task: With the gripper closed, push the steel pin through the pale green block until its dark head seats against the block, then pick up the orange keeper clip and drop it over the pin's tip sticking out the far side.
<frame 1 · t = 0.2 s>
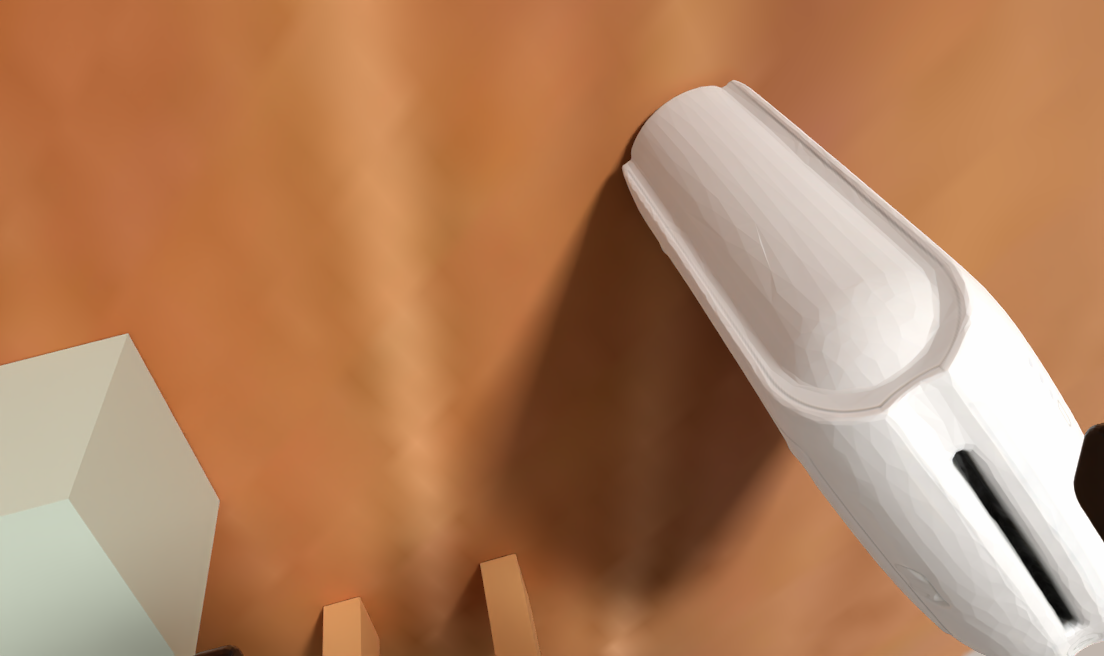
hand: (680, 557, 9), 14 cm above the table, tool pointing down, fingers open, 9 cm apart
photo printer: (754, 235, 25), on the table
keeper clip: (428, 601, 30), on the table
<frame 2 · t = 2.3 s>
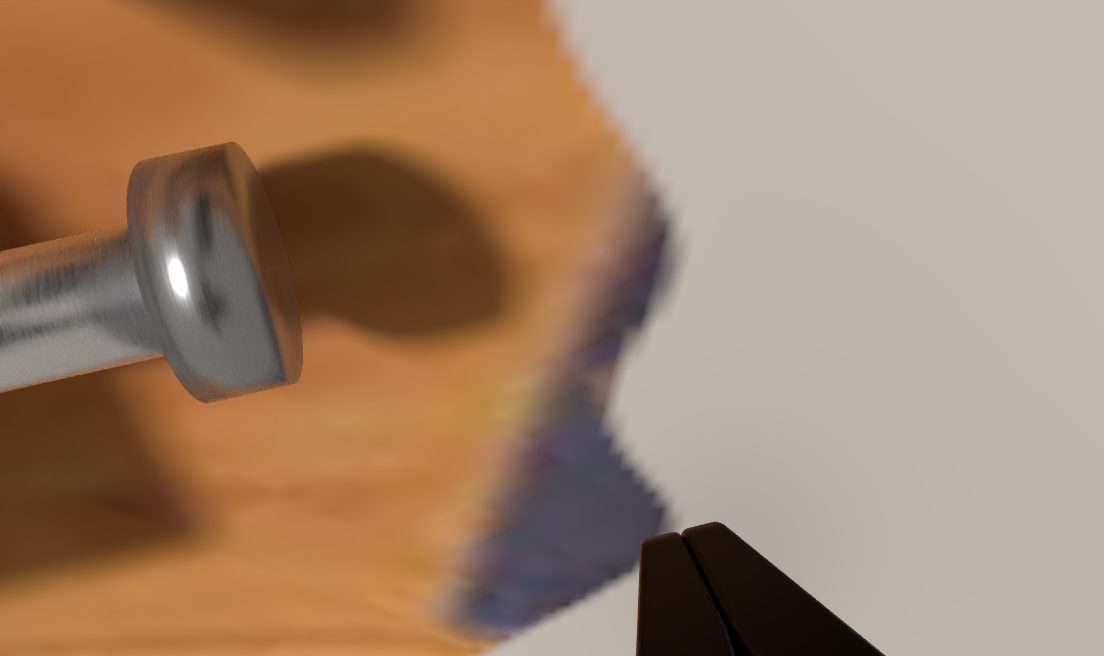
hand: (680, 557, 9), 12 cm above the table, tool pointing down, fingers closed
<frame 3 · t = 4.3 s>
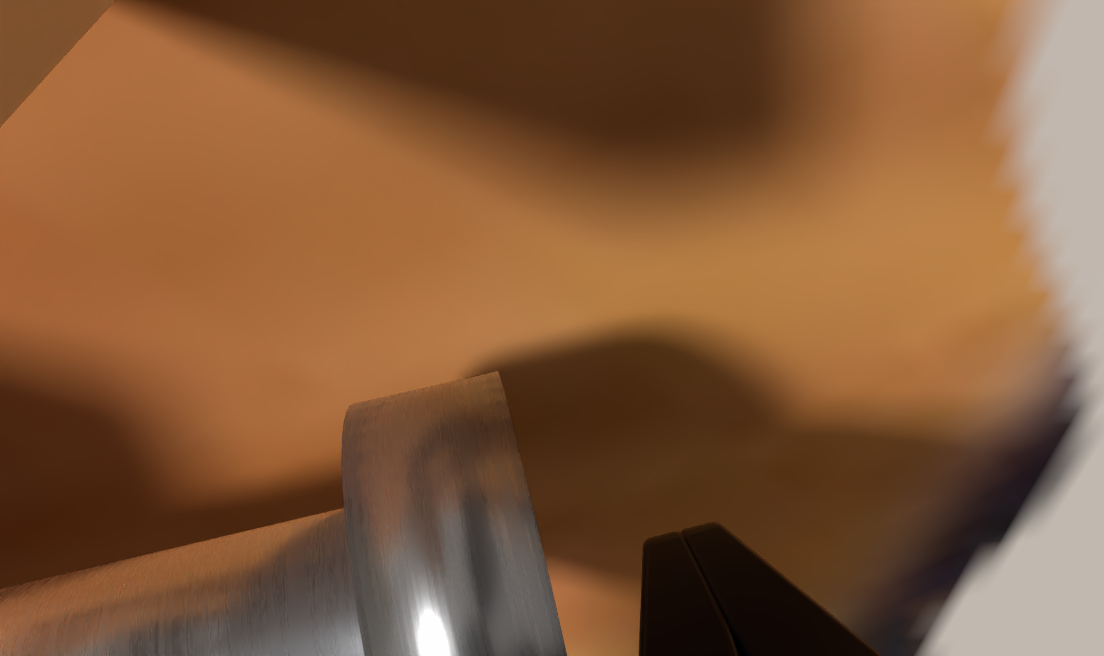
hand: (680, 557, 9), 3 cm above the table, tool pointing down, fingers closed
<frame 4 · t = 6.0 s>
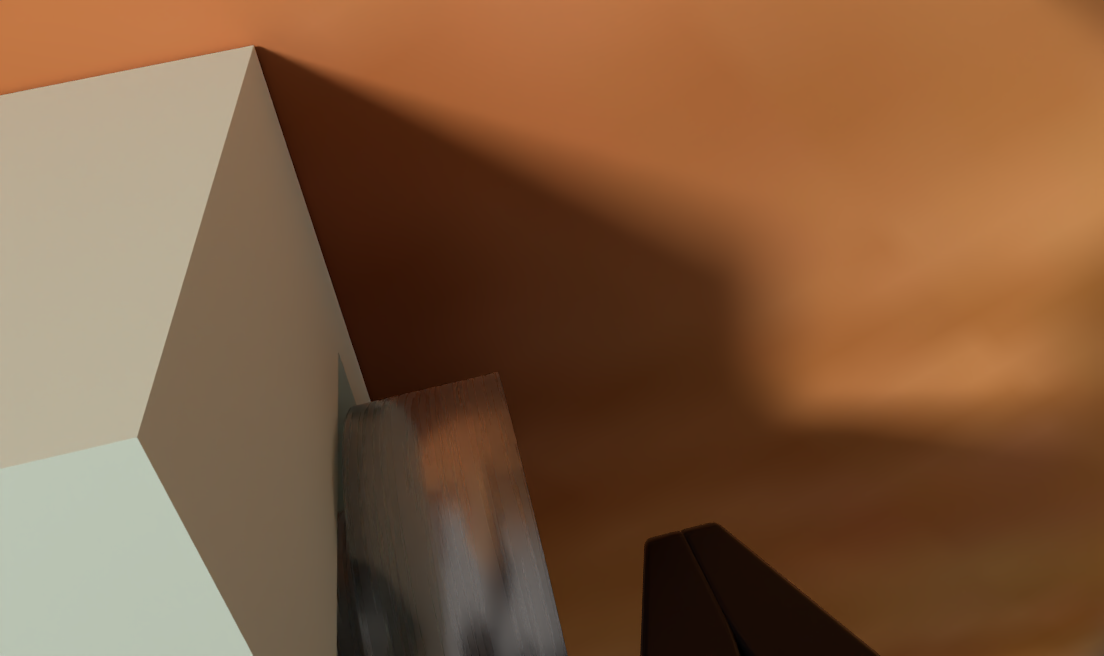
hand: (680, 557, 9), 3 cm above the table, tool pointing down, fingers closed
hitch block: (144, 490, 11), on the table
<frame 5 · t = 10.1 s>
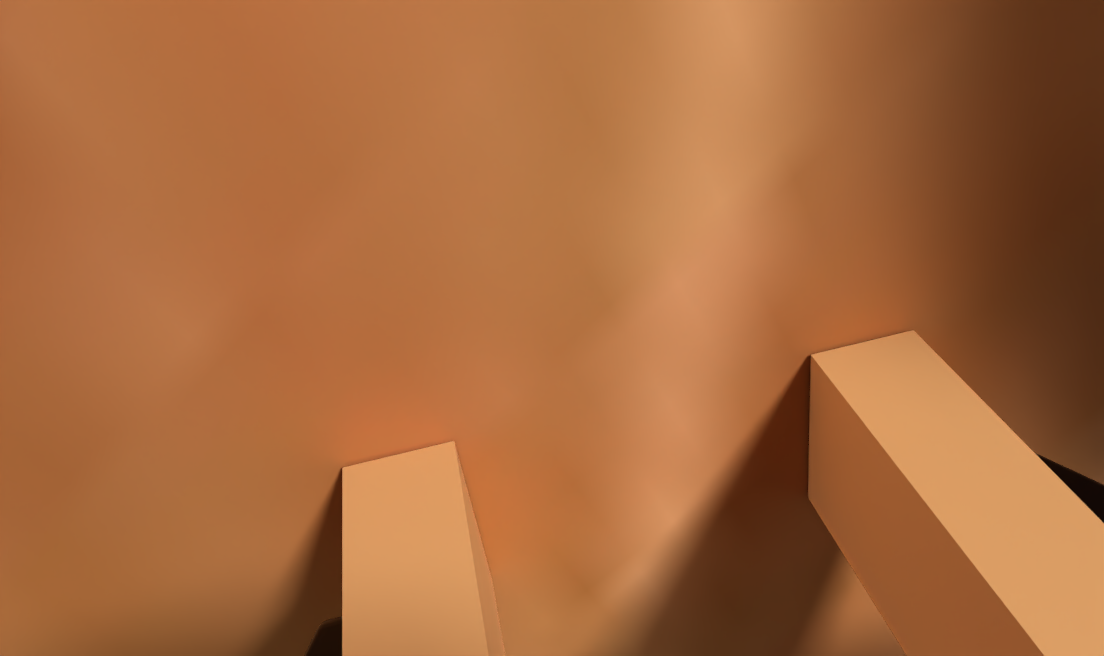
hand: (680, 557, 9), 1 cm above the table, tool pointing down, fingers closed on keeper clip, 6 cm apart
keeper clip: (644, 471, 10), on the table, touching gripper
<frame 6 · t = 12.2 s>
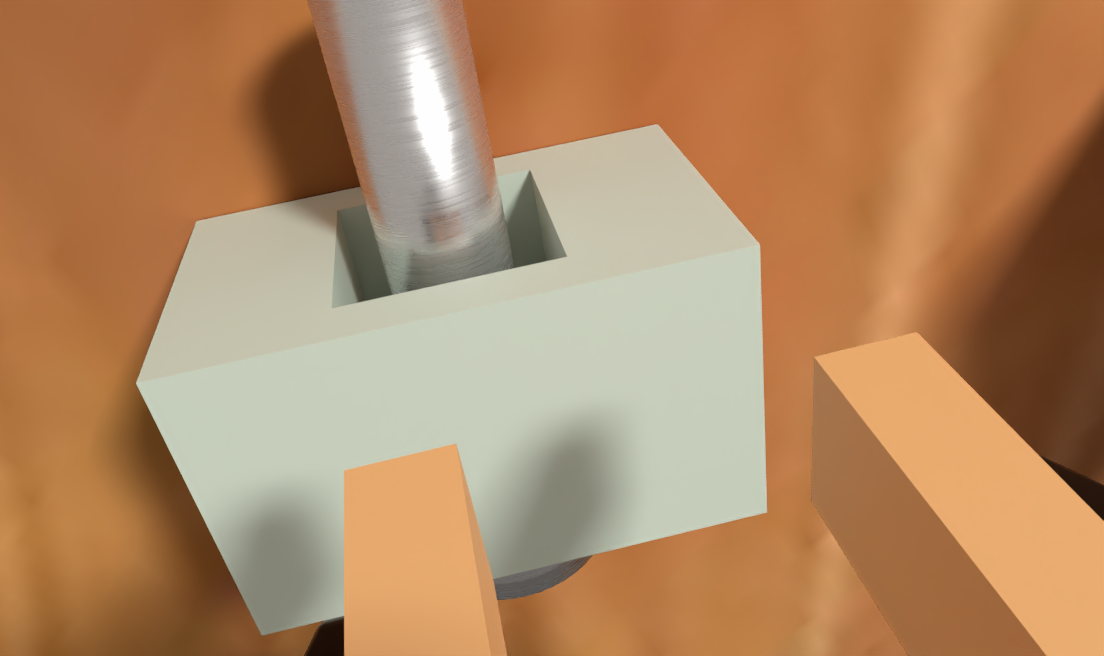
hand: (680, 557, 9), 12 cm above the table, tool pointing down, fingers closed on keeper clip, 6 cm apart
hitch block: (459, 291, 21), on the table
pin: (456, 292, 17), point 3 cm above the table, slide at 8.0 cm
keeper clip: (646, 473, 10), point 11 cm above the table, touching gripper
when the fingers open (3 cm above the table, at t = 14.6 s): keeper clip drops 2 cm, on the table.
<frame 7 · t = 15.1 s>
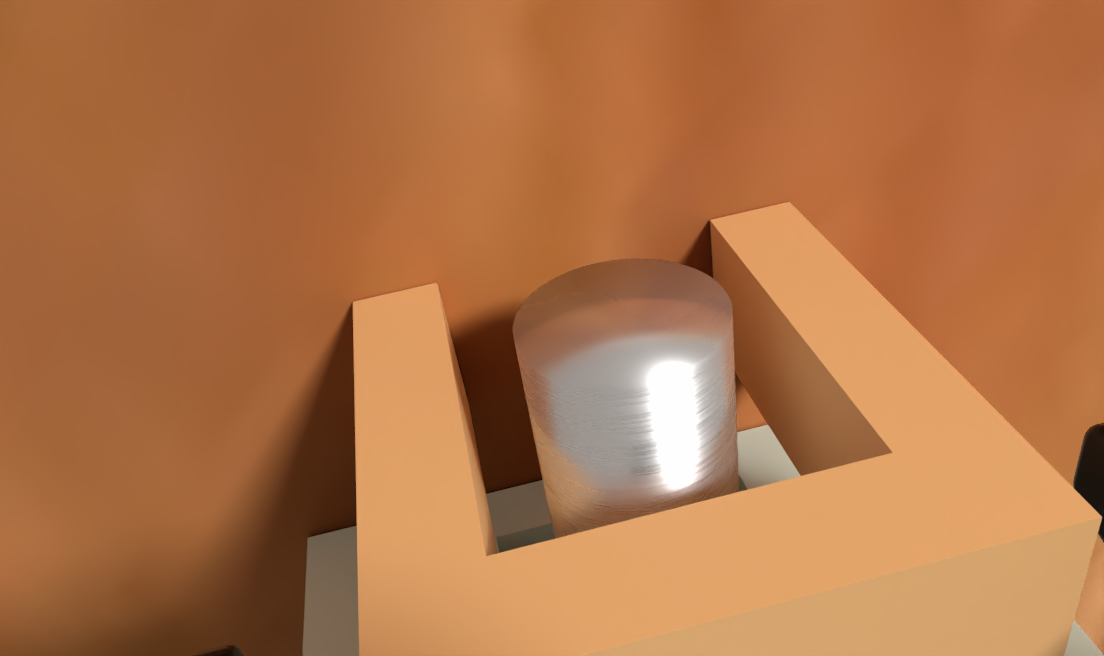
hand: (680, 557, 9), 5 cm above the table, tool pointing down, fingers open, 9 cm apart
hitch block: (622, 583, 17), on the table
keeper clip: (585, 314, 13), on the table
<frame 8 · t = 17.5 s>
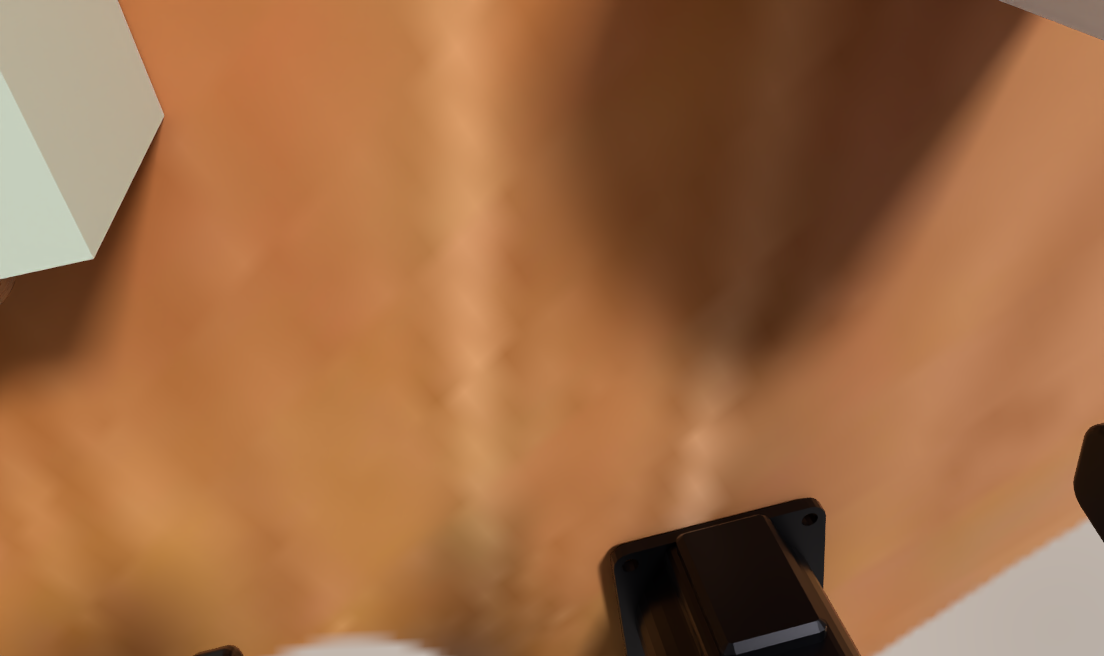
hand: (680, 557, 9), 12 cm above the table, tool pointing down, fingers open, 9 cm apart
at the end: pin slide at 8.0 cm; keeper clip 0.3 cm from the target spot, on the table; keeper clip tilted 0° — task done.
